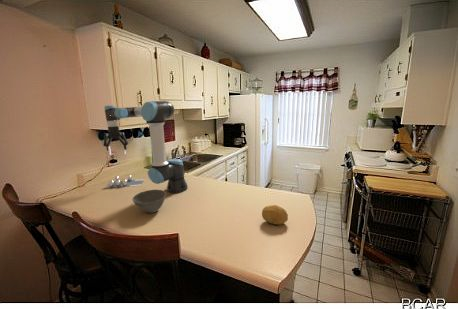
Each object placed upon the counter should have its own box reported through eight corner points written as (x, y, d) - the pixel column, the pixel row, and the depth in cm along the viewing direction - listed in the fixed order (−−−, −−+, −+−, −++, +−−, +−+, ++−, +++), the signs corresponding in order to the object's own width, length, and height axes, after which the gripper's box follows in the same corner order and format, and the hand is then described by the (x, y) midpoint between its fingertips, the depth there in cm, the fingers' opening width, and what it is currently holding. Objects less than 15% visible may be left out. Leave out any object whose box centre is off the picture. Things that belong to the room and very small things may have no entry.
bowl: (134, 207, 136) (132, 193, 134) (165, 201, 143) (163, 187, 141) (134, 222, 119) (132, 205, 117) (169, 214, 126) (167, 198, 124)
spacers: (132, 180, 184) (131, 174, 183) (126, 186, 170) (125, 180, 169) (116, 181, 182) (115, 175, 181) (109, 187, 169) (108, 181, 168)
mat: (145, 180, 186) (145, 179, 185) (140, 186, 171) (140, 185, 171) (112, 182, 183) (112, 181, 183) (104, 189, 168) (104, 188, 168)
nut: (124, 182, 179) (124, 179, 179) (124, 184, 175) (123, 181, 174) (118, 183, 178) (118, 180, 177) (118, 185, 173) (117, 182, 173)
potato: (285, 213, 104) (288, 203, 112) (258, 210, 110) (263, 200, 118) (286, 229, 107) (289, 219, 115) (260, 225, 113) (265, 215, 121)
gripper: (130, 124, 170) (134, 152, 175) (99, 126, 168) (104, 154, 173) (127, 125, 163) (131, 154, 168) (94, 127, 160) (100, 156, 166)
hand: (117, 154), depth 170 cm, fingers open, 10 cm apart
